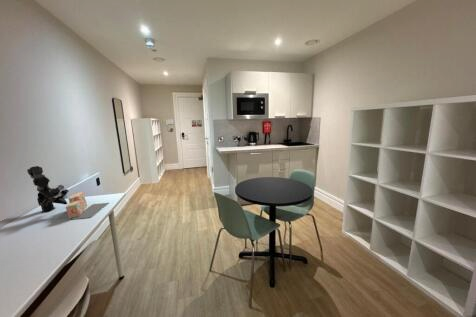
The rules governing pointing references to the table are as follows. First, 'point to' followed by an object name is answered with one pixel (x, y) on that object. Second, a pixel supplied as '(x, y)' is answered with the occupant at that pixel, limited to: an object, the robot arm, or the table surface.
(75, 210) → the stack of blocks
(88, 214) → the mat
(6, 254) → the table surface
